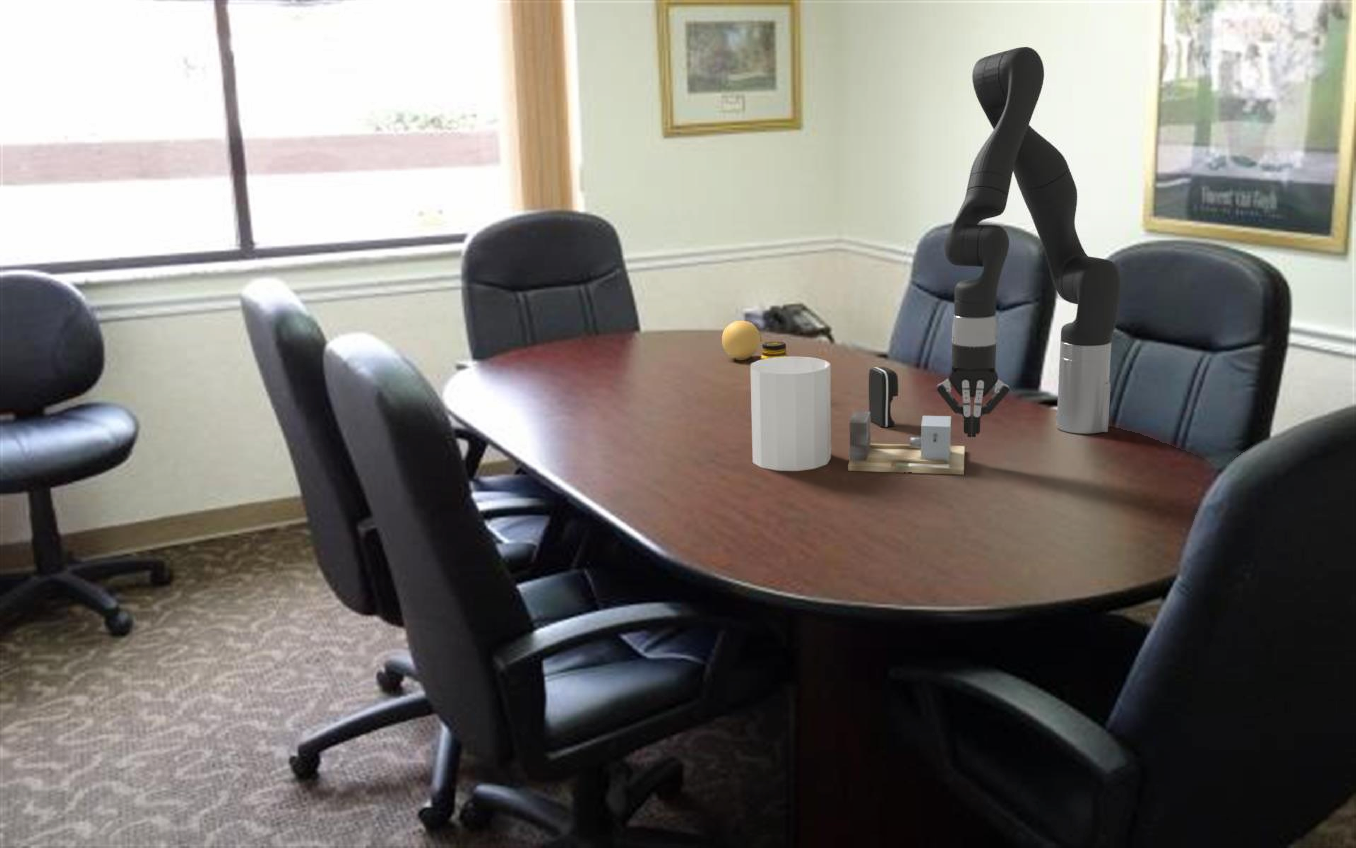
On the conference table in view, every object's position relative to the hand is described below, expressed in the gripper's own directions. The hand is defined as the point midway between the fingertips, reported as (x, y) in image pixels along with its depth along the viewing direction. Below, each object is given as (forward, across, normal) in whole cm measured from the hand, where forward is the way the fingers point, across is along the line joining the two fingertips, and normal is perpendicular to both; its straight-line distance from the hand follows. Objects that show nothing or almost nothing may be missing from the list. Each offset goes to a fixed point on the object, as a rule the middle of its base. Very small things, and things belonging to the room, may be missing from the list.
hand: (971, 435), depth 211 cm
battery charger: (+5, +17, -25) cm, 31 cm away
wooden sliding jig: (+5, +11, 0) cm, 12 cm away
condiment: (+5, +43, -48) cm, 64 cm away
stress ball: (+5, +57, -84) cm, 101 cm away
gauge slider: (+4, +7, +1) cm, 8 cm away
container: (+6, +32, +1) cm, 33 cm away
